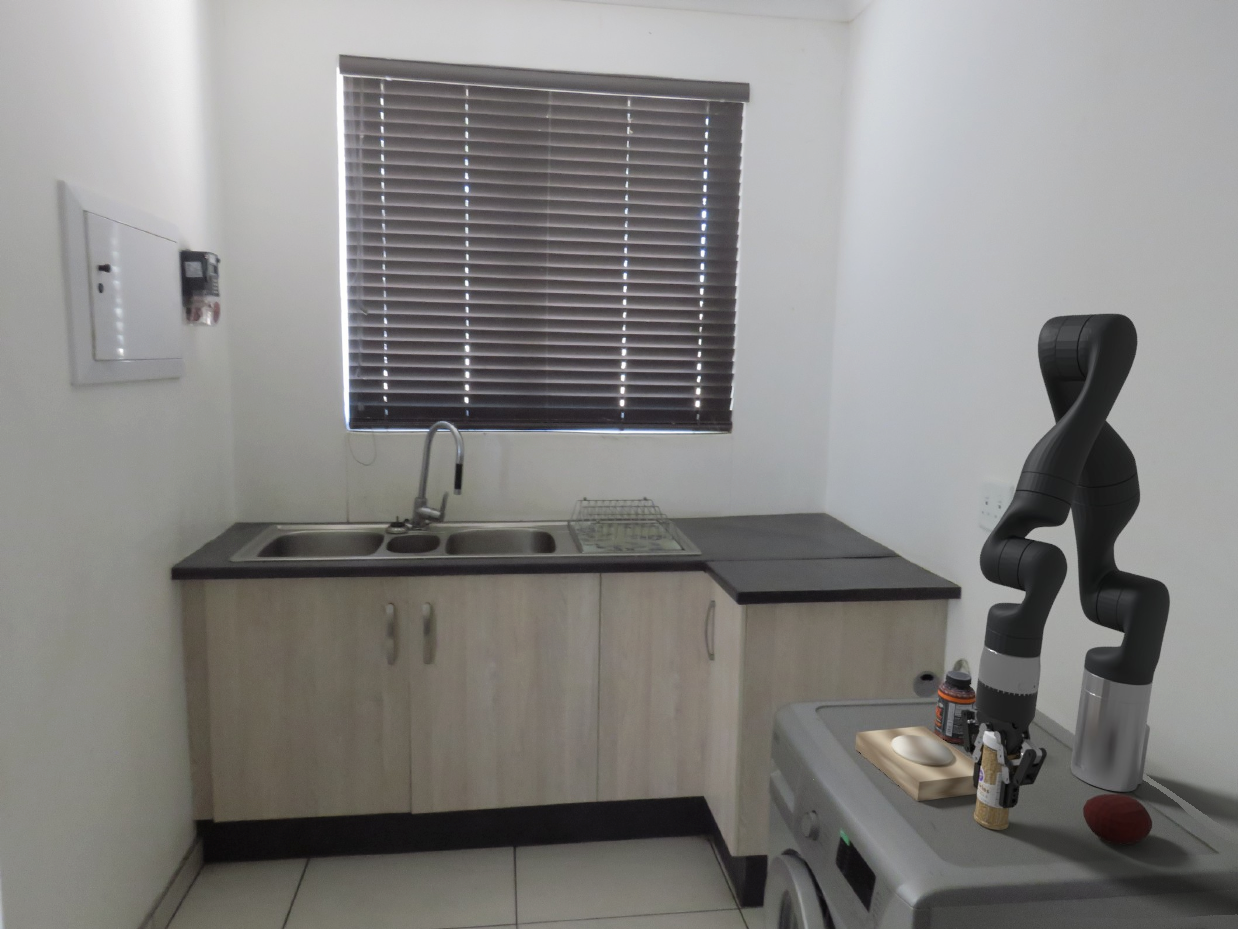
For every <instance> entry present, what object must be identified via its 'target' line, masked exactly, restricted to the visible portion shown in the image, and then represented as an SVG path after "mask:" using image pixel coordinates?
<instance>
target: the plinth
mask: <svg viewBox="0 0 1238 929" xmlns="http://www.w3.org/2000/svg"><path fill="white" fill-rule="evenodd" d="M855 749H856V750H858V751H859V752H860V753H861V754H862V755H863V756H864V757H865V758H864V757H863V756H862V755H861V754H860V753H859V754H860V755H861V756H862V757H863V758H864V759H866V758H867V759H868V760H869V761H870V762H871V763H870V762H869V761H868V760H867V759H866V760H867V761H868V762H869V763H870V764H872V763H873V764H874V765H875V766H876V767H878V768H879V769H880V770H881V771H882V772H881V771H880V770H879V769H878V768H877V769H878V770H879V771H880V772H881V773H883V772H884V773H885V774H886V775H887V776H888V777H887V776H886V775H885V774H884V773H883V774H884V775H885V776H886V777H887V778H889V777H890V778H891V779H890V778H889V779H890V780H891V781H892V780H893V781H894V782H893V781H892V782H893V783H895V785H897V786H898V785H899V786H900V787H899V786H898V787H899V788H900V789H902V790H903V791H904V792H906V793H907V795H909V796H910V797H911V798H912V799H914V800H915V801H916V802H921V801H930V800H936V799H937V800H938V799H945V798H954V797H961V796H968V795H969V796H970V795H977V790H978V789H976V788H975V787H974V786H973V784H974V782H973V772H974V764H975V762H974V761H973V759H972V757H970V756H968V755H966V754H965V753H963V752H962V751H961V750H959V749H958V748H956V747H954V746H953V745H952V744H950V743H948V741H945V740H943V739H941V738H940V737H939V736H937V735H936V734H935V732H933V731H931V730H930V729H928V728H927V727H925V726H924V725H920V726H910V727H900V728H899V727H898V728H890V729H889V728H887V729H879V730H868V731H867V730H866V731H857V732H856V736H855V748H854V750H855ZM856 750H855V751H856ZM873 764H872V765H873ZM874 765H873V766H874ZM875 766H874V767H875ZM876 767H875V768H876Z"/></svg>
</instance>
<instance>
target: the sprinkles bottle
mask: <svg viewBox="0 0 1238 929" xmlns="http://www.w3.org/2000/svg"><path fill="white" fill-rule="evenodd" d="M983 742H984V743H983V744H984V748H983V755H982V765H981V768H980V776H979V783H978V790H977V794H976V803H975V810H974V812H973V818H974V820H975V821H976V822H977V823H978V824H979V825H981V826H982V827H984V828H987V829H990V830H998V831H1001V830H1005V829H1007V828H1008V827H1009V815H1010V808H1005V809H1004V808H1003V807H1001V806H1000V805H999V798H1000V790H1001V782H1002V781H1003V777H1002V767H1001V765H1000V764H999V763H998V757H997V751H998V750H999V744H998V743H997V742H996V738H995V736H994V732H993V731H991V730H990V731H985V732H984V735H983ZM1005 743H1006V740H1005ZM1000 750H1001V749H1000ZM1015 757H1016V754H1015V755H1007V759H1013V758H1015ZM1013 767H1014V765H1013V766H1011V774H1012V773H1014V770H1013Z"/></svg>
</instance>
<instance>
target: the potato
mask: <svg viewBox="0 0 1238 929" xmlns="http://www.w3.org/2000/svg"><path fill="white" fill-rule="evenodd" d="M1082 812H1083V817H1084V820H1085V822H1086V825H1087V826H1088V828H1089V829H1090V830H1091V832H1092V833H1093V834H1094V835H1095V836H1097V837H1098V838H1100V839H1102V840H1104V841H1106V842H1108V843H1112V844H1116V845H1129V844H1135V843H1138V842H1139V841H1141V840H1143V839H1145V838H1147V837H1148V836H1149V834H1150V833H1151V831H1152V829H1153V821H1152V818H1151V816H1150V812H1149V811H1148V810H1147V809H1146V808H1145V806H1144V805H1143V804H1142V803H1141V802H1139V801H1138V800H1137V798H1133V797H1131V796H1129V795H1125V794H1122V793H1106V794H1105V793H1104V794H1099V795H1096V796H1093V797H1091V798H1089V799H1087V800H1086V802H1085V803H1084V806H1083V809H1082Z"/></svg>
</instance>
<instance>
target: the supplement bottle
mask: <svg viewBox="0 0 1238 929" xmlns="http://www.w3.org/2000/svg"><path fill="white" fill-rule="evenodd" d="M971 685H972V676H971V675H970V674H969V673H966V672H963V671H960V670H948V671H947V672H946V674H945V681H944V682H942V683H940V684H939V686H938V692H937V701H936V708H935V709H936V710H935V715H934V716H935V718H934V727H933V728H934V729H933V731H934V732H933V733H934V734H936V735H937V736H939V737H940V738H941V739H944V741H945V740H947V741H946V742H950V743H952V742H953V744H964V741H963V730H962V719H961V711H962V710H966V709H975V707H976V706H975V699H976V690H975V689H974V687H972V686H971Z"/></svg>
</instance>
